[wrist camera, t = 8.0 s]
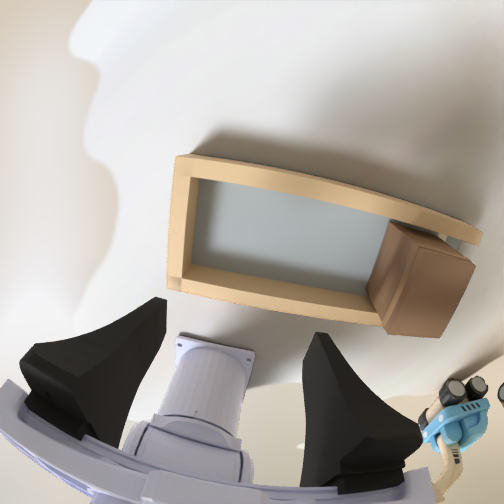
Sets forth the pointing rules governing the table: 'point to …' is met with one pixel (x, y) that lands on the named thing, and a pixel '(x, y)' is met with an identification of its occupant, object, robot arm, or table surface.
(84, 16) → the table surface
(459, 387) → the toy excavator
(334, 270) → the bay
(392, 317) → the box
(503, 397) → the toy fire truck
